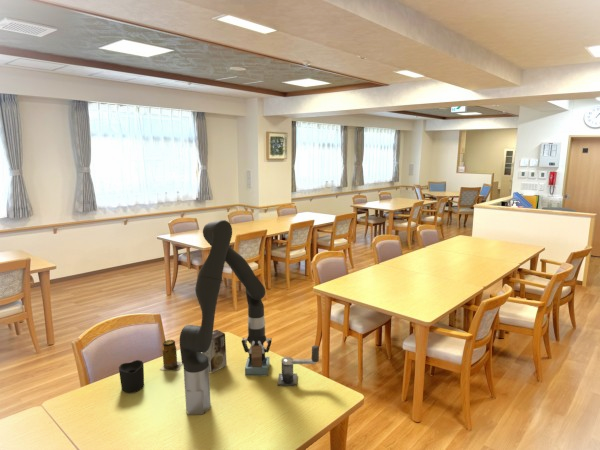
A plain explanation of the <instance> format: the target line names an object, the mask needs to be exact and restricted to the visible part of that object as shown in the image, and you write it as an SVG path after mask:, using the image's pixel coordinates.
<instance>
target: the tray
mask: <svg viewBox="0 0 600 450" xmlns="http://www.w3.org/2000/svg"><path fill="white" fill-rule="evenodd" d="M269 367H270V356H265V360H263V363H262V367H252V361H251V360H249V356H247V358H246V363H245V365H244V376H245V377H246V376H253V377H254V376H255V377H256V376H266V377H267V376H269V375H268V374H269V370H270V368H269Z"/></svg>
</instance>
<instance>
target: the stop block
mask: <svg viewBox="0 0 600 450" xmlns="http://www.w3.org/2000/svg"><path fill="white" fill-rule="evenodd" d="M250 346H251V345H250ZM251 356H252V367H262V363H263V361H262V348H261V346H259V345H254V346H251Z"/></svg>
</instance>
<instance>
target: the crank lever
mask: <svg viewBox="0 0 600 450" xmlns="http://www.w3.org/2000/svg"><path fill="white" fill-rule="evenodd" d="M319 351H320V346H319V345H312V346H311V358H293V357H291V356H284V357H282V358H281V366H282V365H284V366H291V365H293V366H294V365H316V363H317V362H319V360H320V352H319Z"/></svg>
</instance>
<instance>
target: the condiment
mask: <svg viewBox="0 0 600 450" xmlns="http://www.w3.org/2000/svg"><path fill="white" fill-rule="evenodd" d="M161 351H162V362H163V365H162V367H161V368H160V371H179V370H180V369H181V367H182V366H183V364H182V361H178V357H177V356H178V355H177V354H178V353H177V345H176V341H175V340H174V339H166V340H164V341H163V343H162V350H161Z"/></svg>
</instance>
